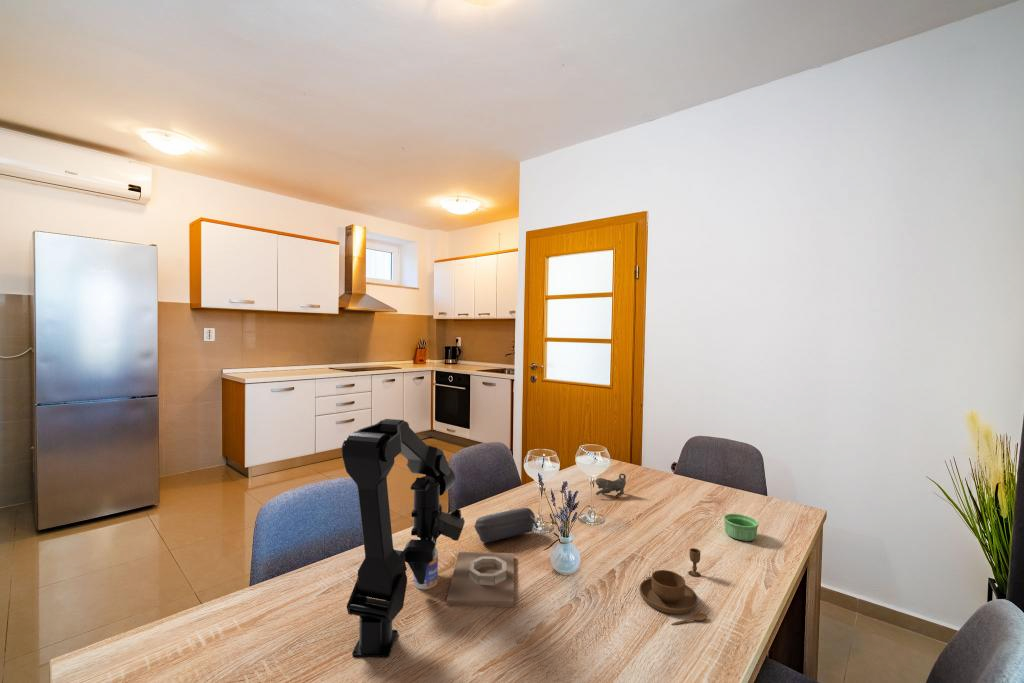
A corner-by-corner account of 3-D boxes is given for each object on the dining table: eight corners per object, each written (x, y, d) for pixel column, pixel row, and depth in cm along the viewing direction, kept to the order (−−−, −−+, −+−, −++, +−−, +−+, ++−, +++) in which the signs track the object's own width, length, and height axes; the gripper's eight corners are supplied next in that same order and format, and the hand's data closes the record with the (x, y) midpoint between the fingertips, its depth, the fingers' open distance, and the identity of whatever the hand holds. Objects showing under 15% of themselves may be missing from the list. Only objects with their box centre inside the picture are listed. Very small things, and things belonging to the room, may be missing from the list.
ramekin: (727, 539, 124) (727, 524, 124) (720, 526, 133) (720, 511, 133) (762, 544, 122) (762, 528, 122) (752, 530, 130) (753, 515, 130)
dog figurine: (621, 491, 161) (622, 470, 160) (628, 497, 155) (629, 476, 155) (590, 492, 158) (590, 472, 158) (596, 498, 153) (596, 477, 152)
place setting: (622, 581, 103) (622, 556, 103) (693, 569, 109) (694, 546, 108) (668, 630, 86) (669, 601, 86) (750, 613, 92) (751, 585, 92)
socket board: (513, 607, 92) (513, 592, 92) (446, 605, 92) (446, 590, 92) (513, 557, 112) (513, 545, 112) (458, 556, 112) (458, 544, 112)
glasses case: (524, 526, 130) (525, 499, 130) (543, 541, 121) (544, 513, 121) (468, 538, 122) (468, 510, 121) (484, 556, 112) (484, 525, 112)
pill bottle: (432, 591, 96) (432, 548, 96) (409, 588, 98) (409, 545, 97) (441, 578, 102) (441, 536, 102) (419, 575, 103) (419, 534, 103)
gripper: (457, 522, 90) (455, 598, 90) (466, 489, 109) (465, 552, 109) (402, 521, 90) (401, 596, 90) (421, 488, 109) (420, 551, 109)
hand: (425, 572), depth 100 cm, fingers open, 9 cm apart
